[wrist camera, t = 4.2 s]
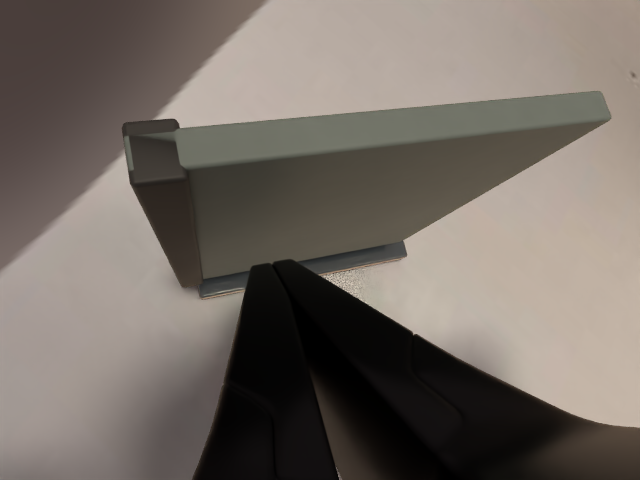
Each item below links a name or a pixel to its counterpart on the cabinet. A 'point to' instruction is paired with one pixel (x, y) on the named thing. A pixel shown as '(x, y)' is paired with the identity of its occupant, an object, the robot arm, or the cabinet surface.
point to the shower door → (334, 176)
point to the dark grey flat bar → (317, 265)
